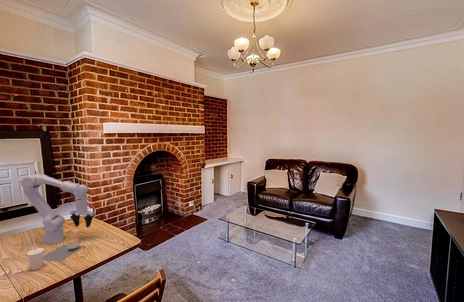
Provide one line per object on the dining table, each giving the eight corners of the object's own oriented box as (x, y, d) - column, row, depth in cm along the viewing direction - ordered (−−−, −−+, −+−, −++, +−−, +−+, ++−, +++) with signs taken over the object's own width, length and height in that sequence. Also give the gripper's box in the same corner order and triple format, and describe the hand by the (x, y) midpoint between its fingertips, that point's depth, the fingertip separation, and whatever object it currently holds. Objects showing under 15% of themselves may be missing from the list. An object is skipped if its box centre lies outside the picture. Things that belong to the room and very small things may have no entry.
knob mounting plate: (37, 262, 113) (36, 251, 112) (63, 246, 127) (62, 237, 127) (61, 264, 111) (60, 253, 110) (84, 248, 125) (84, 238, 125)
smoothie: (35, 266, 109) (33, 239, 108) (49, 265, 110) (47, 239, 108) (24, 274, 103) (22, 246, 101) (39, 274, 103) (36, 246, 102)
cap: (68, 245, 123) (68, 239, 123) (79, 243, 126) (79, 237, 125) (66, 249, 119) (65, 243, 118) (77, 247, 121) (77, 241, 121)
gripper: (65, 206, 129) (66, 228, 131) (86, 207, 127) (88, 230, 129) (75, 202, 136) (76, 223, 138) (96, 203, 134) (97, 225, 136)
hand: (82, 226), depth 134 cm, fingers open, 7 cm apart
